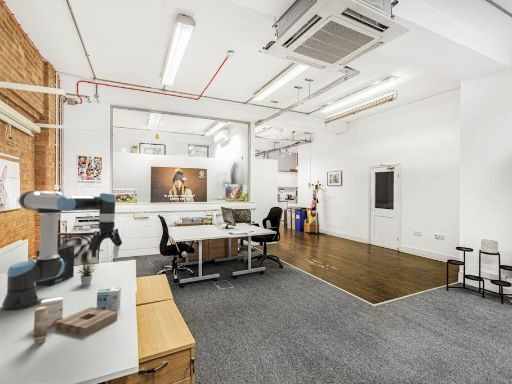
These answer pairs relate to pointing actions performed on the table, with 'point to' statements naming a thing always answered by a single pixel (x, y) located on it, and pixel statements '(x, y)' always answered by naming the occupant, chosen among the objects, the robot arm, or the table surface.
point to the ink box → (53, 309)
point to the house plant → (86, 274)
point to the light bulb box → (109, 298)
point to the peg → (40, 324)
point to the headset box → (68, 258)
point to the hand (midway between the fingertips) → (105, 260)
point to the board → (86, 321)
